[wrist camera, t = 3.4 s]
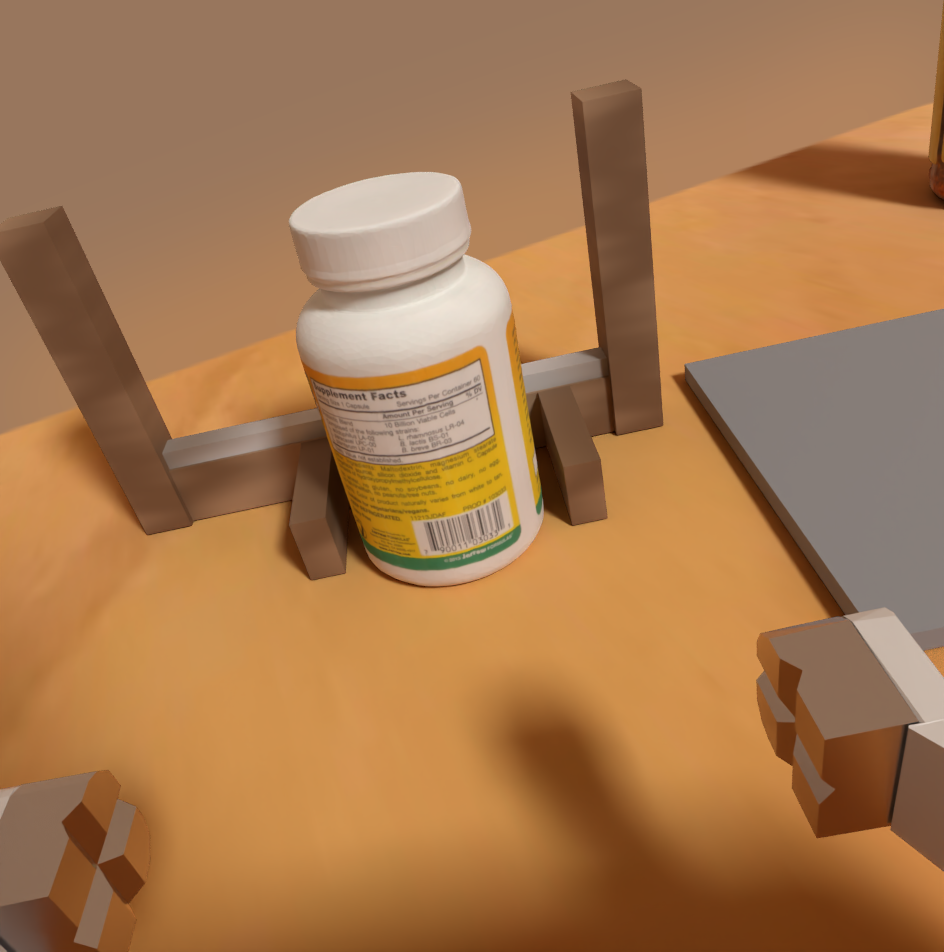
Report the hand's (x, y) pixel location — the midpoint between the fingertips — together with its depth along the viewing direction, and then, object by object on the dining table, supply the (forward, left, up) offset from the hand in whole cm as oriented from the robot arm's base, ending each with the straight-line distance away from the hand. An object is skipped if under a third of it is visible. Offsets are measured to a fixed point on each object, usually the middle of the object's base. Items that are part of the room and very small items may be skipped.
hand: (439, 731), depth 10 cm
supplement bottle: (0, +12, -6) cm, 14 cm away
